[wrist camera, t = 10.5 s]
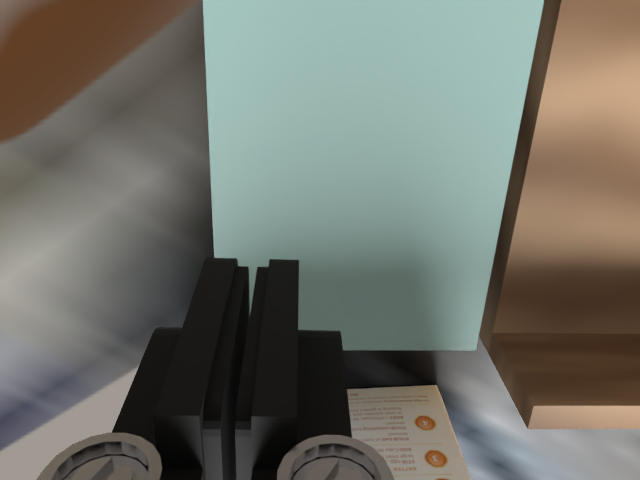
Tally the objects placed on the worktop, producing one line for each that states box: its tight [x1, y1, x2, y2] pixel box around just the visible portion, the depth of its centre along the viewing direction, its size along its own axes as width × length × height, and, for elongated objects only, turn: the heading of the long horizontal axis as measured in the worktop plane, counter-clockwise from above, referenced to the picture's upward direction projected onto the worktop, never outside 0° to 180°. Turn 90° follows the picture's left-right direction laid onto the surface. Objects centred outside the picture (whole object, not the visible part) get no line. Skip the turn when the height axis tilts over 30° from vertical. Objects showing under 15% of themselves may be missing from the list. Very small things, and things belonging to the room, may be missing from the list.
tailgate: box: [203, 0, 544, 351], centre depth 23 cm, size 19×2×12 cm
